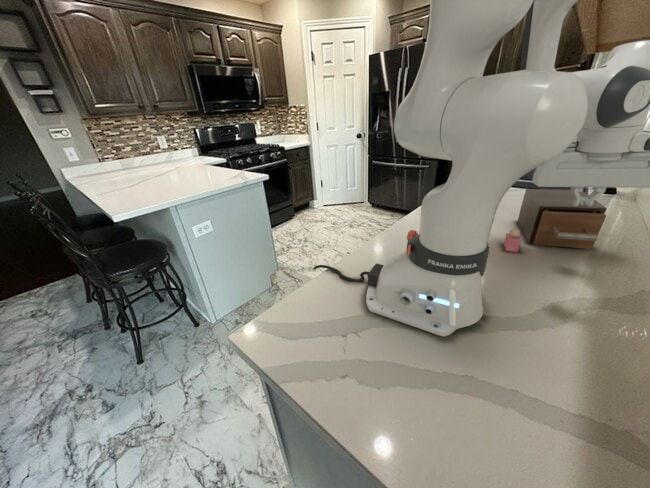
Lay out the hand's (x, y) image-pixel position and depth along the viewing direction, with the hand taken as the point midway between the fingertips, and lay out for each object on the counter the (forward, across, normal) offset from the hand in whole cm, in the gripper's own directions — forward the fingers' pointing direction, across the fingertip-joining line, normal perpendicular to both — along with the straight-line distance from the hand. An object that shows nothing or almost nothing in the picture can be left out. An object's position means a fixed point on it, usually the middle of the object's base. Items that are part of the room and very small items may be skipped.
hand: (581, 205), depth 59 cm
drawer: (+11, 0, +6) cm, 13 cm away
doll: (+12, -11, 0) cm, 17 cm away
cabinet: (+12, 0, +11) cm, 16 cm away
